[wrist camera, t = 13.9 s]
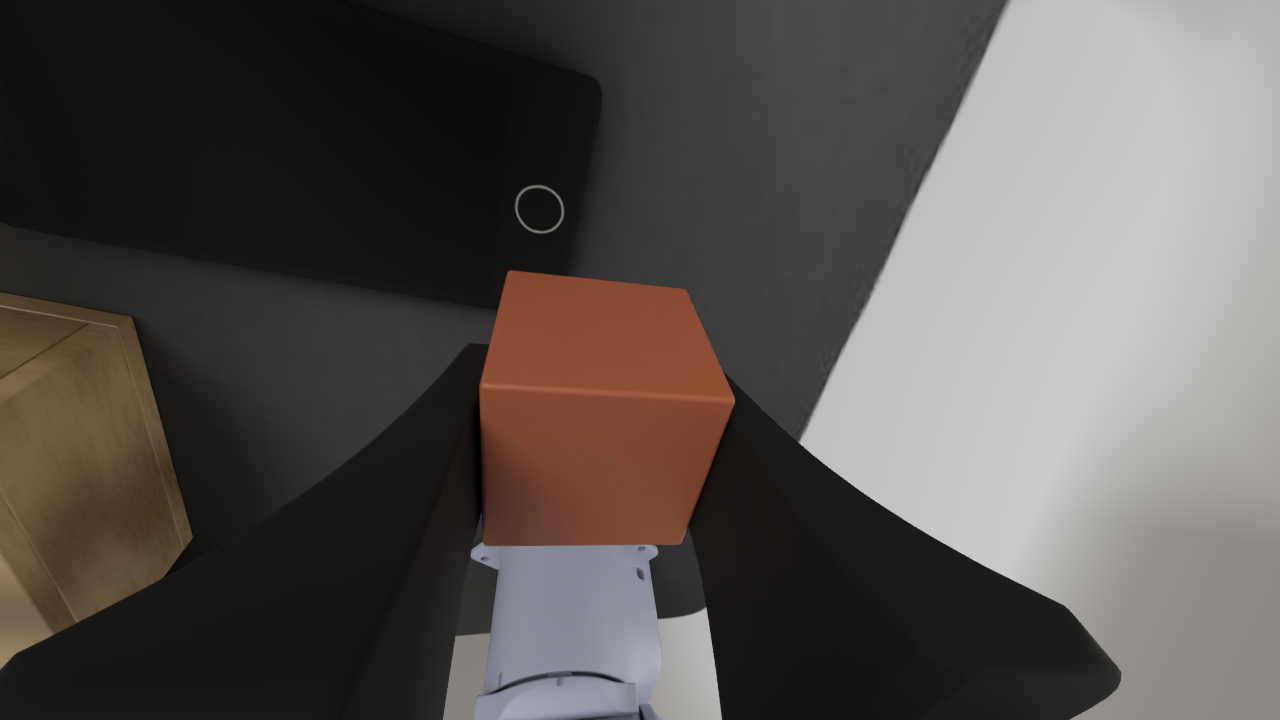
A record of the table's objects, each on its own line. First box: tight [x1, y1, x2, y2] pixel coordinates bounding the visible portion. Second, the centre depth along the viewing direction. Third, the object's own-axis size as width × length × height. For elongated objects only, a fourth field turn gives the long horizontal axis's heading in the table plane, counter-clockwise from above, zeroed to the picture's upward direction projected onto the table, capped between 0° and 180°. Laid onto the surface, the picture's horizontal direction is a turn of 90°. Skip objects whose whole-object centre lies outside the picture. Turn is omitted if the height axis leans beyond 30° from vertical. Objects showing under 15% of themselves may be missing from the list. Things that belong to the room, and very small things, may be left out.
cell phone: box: [0, 0, 602, 310], centre depth 15 cm, size 9×18×1 cm, turn 74°
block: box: [479, 270, 735, 546], centre depth 10 cm, size 4×4×4 cm
